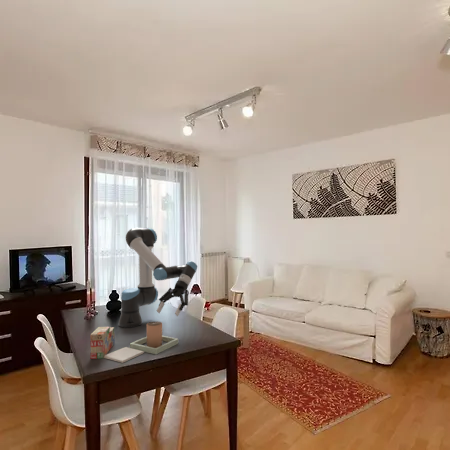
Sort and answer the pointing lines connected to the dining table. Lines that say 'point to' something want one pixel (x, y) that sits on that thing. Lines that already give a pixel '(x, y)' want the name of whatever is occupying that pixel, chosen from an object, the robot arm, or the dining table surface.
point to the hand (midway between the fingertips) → (167, 313)
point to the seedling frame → (157, 350)
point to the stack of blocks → (101, 341)
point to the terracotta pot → (154, 334)
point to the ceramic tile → (123, 354)
